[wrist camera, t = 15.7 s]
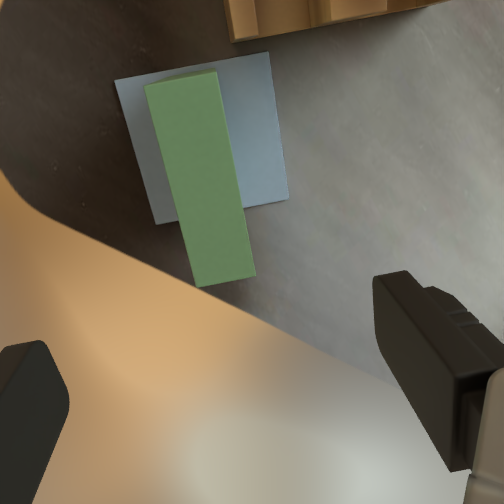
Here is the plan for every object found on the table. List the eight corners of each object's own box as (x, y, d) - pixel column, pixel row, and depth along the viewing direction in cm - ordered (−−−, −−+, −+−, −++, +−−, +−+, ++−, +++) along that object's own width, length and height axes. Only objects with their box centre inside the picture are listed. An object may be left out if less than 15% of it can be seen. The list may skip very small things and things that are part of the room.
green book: (201, 209, 37) (196, 288, 24) (170, 75, 32) (142, 85, 19) (241, 202, 37) (256, 276, 24) (214, 67, 32) (216, 71, 20)
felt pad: (156, 223, 37) (155, 225, 37) (115, 80, 32) (114, 80, 32) (288, 198, 37) (289, 199, 37) (268, 51, 32) (268, 51, 32)
